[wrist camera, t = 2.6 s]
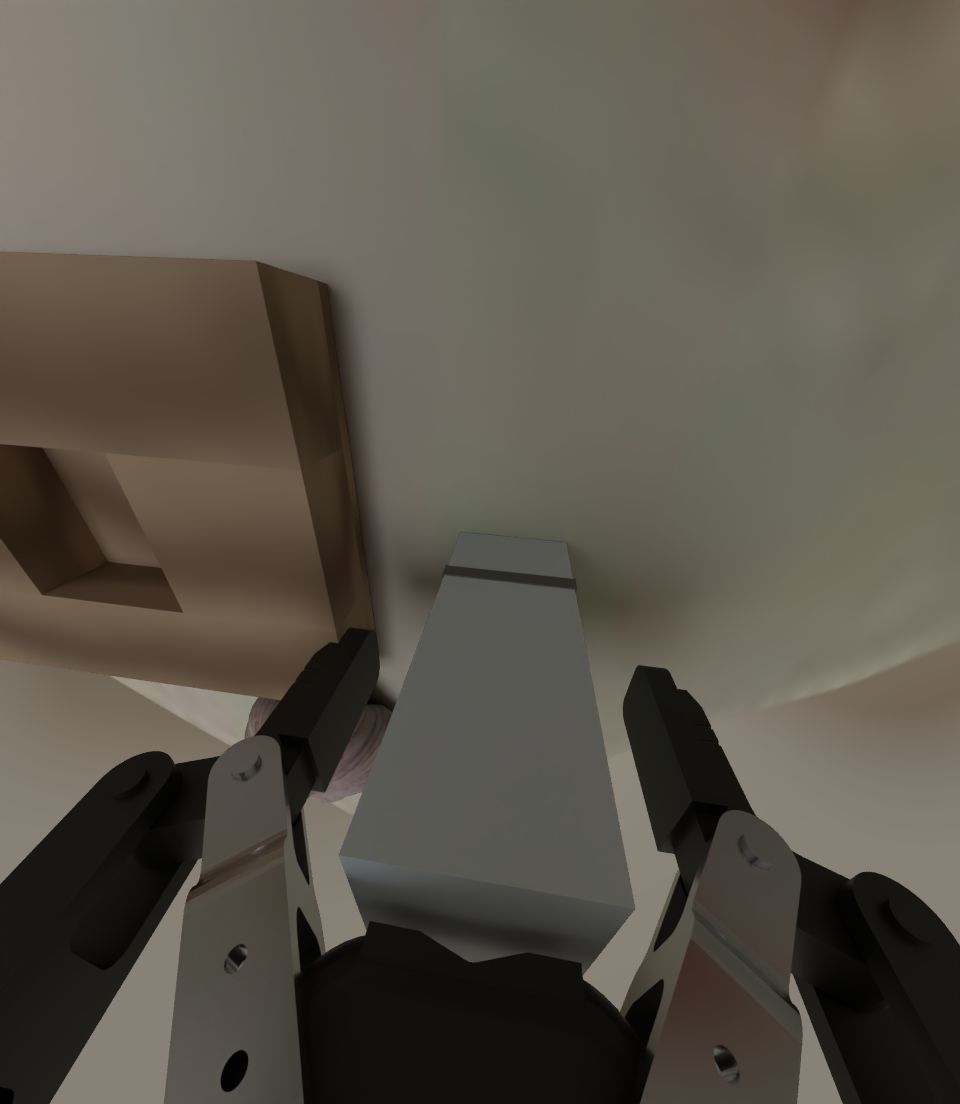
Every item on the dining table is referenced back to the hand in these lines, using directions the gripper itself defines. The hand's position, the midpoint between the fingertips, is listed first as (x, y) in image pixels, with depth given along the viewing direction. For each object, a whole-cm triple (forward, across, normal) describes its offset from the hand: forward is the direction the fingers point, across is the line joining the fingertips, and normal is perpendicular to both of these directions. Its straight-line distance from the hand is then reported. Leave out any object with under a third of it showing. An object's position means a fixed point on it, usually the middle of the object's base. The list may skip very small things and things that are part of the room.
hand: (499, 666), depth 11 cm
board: (+4, +15, -2) cm, 16 cm away
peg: (+4, 0, 0) cm, 4 cm away
